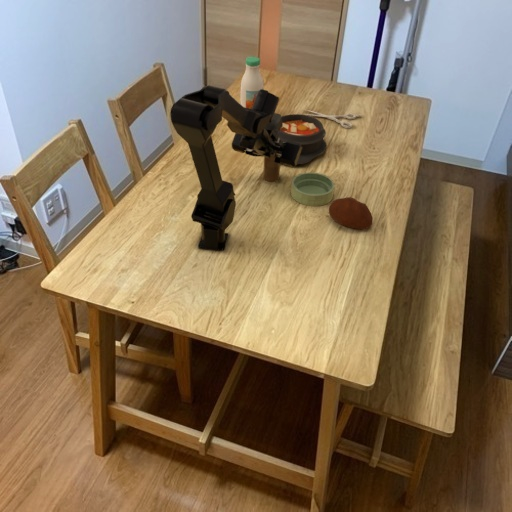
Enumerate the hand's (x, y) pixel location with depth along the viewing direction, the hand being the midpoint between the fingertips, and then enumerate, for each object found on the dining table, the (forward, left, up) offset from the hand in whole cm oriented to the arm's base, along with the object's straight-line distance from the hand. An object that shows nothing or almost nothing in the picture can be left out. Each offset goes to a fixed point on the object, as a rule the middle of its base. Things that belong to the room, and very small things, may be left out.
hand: (274, 156), depth 149 cm
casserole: (+18, -6, -7) cm, 20 cm away
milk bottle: (+38, +11, -7) cm, 40 cm away
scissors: (+42, -16, -7) cm, 45 cm away
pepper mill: (-1, 0, -7) cm, 7 cm away
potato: (-20, -22, -7) cm, 30 cm away
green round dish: (-8, -12, -7) cm, 15 cm away
